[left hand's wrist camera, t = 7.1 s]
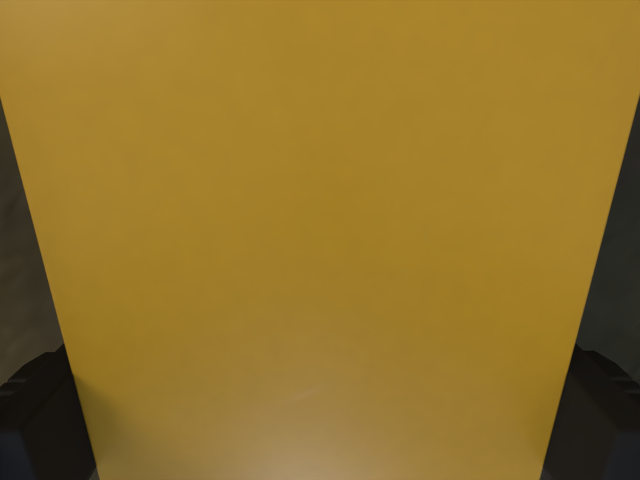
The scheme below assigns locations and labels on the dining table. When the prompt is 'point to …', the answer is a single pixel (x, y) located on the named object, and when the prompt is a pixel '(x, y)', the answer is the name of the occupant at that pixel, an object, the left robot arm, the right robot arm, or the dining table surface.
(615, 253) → the dining table surface
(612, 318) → the dining table surface
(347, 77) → the cabinet
